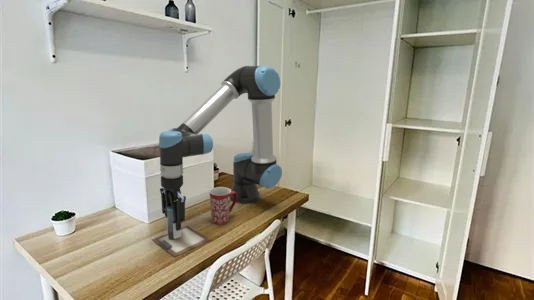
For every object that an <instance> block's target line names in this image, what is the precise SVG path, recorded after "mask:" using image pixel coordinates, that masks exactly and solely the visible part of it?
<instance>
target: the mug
mask: <svg viewBox="0 0 534 300" xmlns="http://www.w3.org/2000/svg"><path fill="white" fill-rule="evenodd" d="M208 193H209V200H210V212H211V213H210V214H211V222H212V223H213V224H215V225H223V224H224V225H225V224H227V223H228V222H229V221H230V213H231V212H232V210H233V209H234V207H235V205H236V203H237V202H236V201H237V193H236V192H234V191H231V188H228V187H226V186H225V187H224V186H216V187H212V188H211V189H209V191H208ZM232 194H234V200H233V201H232V203H231V199H230V197H231V195H232Z"/></svg>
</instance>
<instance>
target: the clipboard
mask: <svg viewBox="0 0 534 300" xmlns="http://www.w3.org/2000/svg"><path fill="white" fill-rule="evenodd" d="M152 241H153V242H154V243H155V244H157V245H158V246H159V247H160V248H162V250H164V251H165V252H167V253H168V254H170V255H171V256H172V257H173V258H177V257H178V256H181V255H183V254H185V253H188V252H189V251H192V250H194V249H196V248H197V247H200V246H202V245H204V244H207V243H209V242H211V239H210V238H209V237H207V236H205V235H204V234H202V233H200V232H199V231H198V230H196V229H194V228H193V227H191V226H189V225H186V226H183V227H182V226H181V237H179V238H177V239H169V238H168V234H167V233H165V234H163V235H159V236H157V237H154V238H152Z"/></svg>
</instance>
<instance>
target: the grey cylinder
mask: <svg viewBox="0 0 534 300" xmlns="http://www.w3.org/2000/svg"><path fill="white" fill-rule="evenodd" d="M167 220H168V238H169V239H174V237H173V221H174V215H173V208H172V205H169V206H167ZM178 238H179V237H178ZM176 239H177V238H176Z"/></svg>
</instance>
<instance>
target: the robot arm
mask: <svg viewBox="0 0 534 300" xmlns="http://www.w3.org/2000/svg"><path fill="white" fill-rule="evenodd" d="M220 85H221V86H220V87H219V88H217V90H216V91H215V92H214V93H213V94H211V95H210V96H209V97H208V98H207V99H206V100H205V101H204V102H203V103H202V104H201V105H200V106H199V107H198V108H197V109H195V111H194V112H192V113H191V114H190V115H189V116H188V117H187V118H186V119H185V120H184V121H183V122H182V123H181V124H180V125H179V126H178V127H174V128H171V129H168V131H167V130H165V131H162V132H161V133H160V134H159V138H158V148H159V149H158V150H159V163H160V164H159V165H160V168H159V171H160V186H161V187H160V188H159V192H160V199H161V200H160V201H161V210H162V211H161V212H162V214H164V217H165V220H166V222H165V223H166V234H168V220H167V206H169V205H172V208H173V215H174V221H173V237H174V239H176V238H178V237H181V228H182V222H185V220H186V199H187V197H186V196H185V195H182V191H181V187H182V186H183V185H184V175H183V174H184V165H183V163H184V161H183V158H188V157H195V156H201V155H202V156H203V155H207V154H209V153H211V152H213V149H214V141H213V138H212V136H211V135H210V134H208V133H201V132H202V131H203V130H204V129H205V128H206V127H207V126H208V125H209V124H210V123H211V122H212V121H213V120H214V119H215V118H216V117H217V116H218V115H219V114H220V113H221V112H222V111H223V110H224V109H225V108H226V107H227V106H228V105H229V104H230V103H231V102H232V101H233V100H236V99H238V98H239V97H240V96H242V95H244V94H247V100H248V101H249V102H250V103H251V114H252V134H253V135H252V136H253V137H252V139H253V152H243V153H236V154H235V155H234V157H233V162H232V163H233V165H232V166H233V169H232V171H233V180H232V181H233V182H232V185H231V188H230V190H231V191H234V192H236V193H237V201H236V203H238V204H251V203H255V202H258V201H259V200H260V191H259V187H258V186H260V187H262V188H265V189H271V188H274V187H276V186H277V185H278V183H279V182H280V180H281V178H282V175H283V170H282V167H281V165H279V164H277V163H278V161H277V157H276V156H275V155H274V146H273V145H274V142H273V141H274V140H273V139H274V138H273V110H272V103H273V101H274V100H275V99H276V94H278V92H279V90H280V88H281V78H280V74H279V73H278V72H277V70H276V69H275V68H273V67H272V66H269V65H268V66H267V65H245V66H241V67H239V68H237V69H236V70H234V71H233V72H232V73H230V74H229V75H228V76H227V77H225V79H223V80H222V82H221V84H220ZM233 200H234V194H232V195H231V197H230V201H232V202H233Z"/></svg>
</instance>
